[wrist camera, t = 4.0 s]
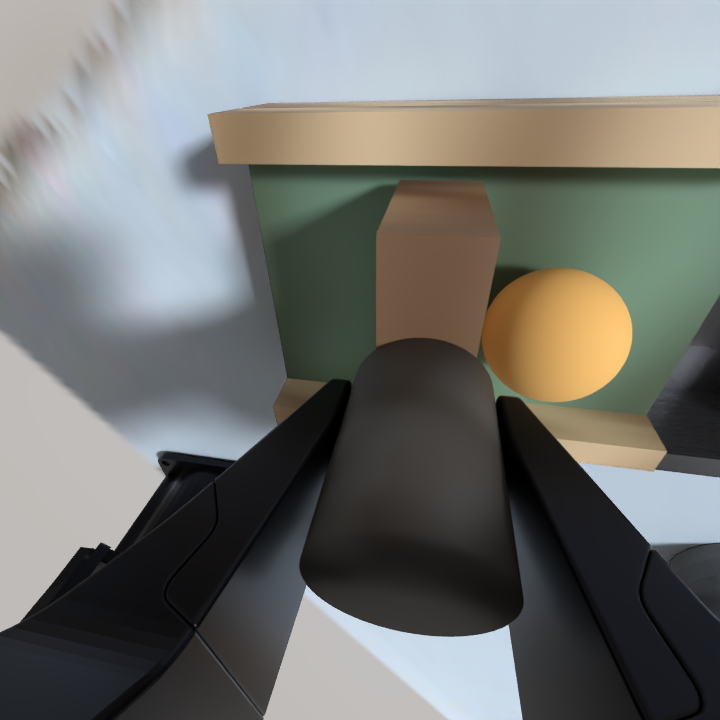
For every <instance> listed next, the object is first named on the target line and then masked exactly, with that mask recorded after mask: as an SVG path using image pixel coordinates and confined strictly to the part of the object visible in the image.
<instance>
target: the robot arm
mask: <svg viewBox="0 0 720 720" xmlns="http://www.w3.org/2000/svg"><path fill="white" fill-rule="evenodd" d="M351 389H352V384H351V382H350V381H349V380H345V379H332V380H330V381H329V382H328V383H327V384H325V385H324V386H323V387H322V388H321V389H320V390H318V391H317V392H316V393H315V394H314V395H313V396H311V397H310V398H309V399H308V400H307V401H306V402H304V403H303V404H302V405H301V406H300V407H299V408H297V409H296V410H295V411H294V412H293V413H292V414H290V415H289V416H288V417H287V418H286V419H285V420H284V421H282V422H281V423H280V424H279V425H278V426H277V427H275V428H274V429H273V430H272V431H271V432H270V433H268V434H267V435H266V436H265V437H264V438H263V439H261V440H260V441H259V442H258V443H257V444H256V445H254V446H253V447H252V448H251V449H250V450H249V451H247V452H246V453H245V454H244V455H243V456H242V457H241V458H239V459H238V460H237V461H236V462H235V463H232V462H225V461H218V460H211V459H204V458H198V457H191V456H184V455H177V454H170V453H163V454H162V455H161V456H160V458H159V459H158V463H159V464H160V466H161V468H162V470H163V472H164V474H165V475H166V477H165V479H164V480H163V482H162V483H161V484H160V486H159V487H158V489H157V490H156V492H155V493H154V495H153V496H152V497H151V499H150V500H149V502H148V503H147V505H146V506H145V507H144V509H143V510H142V512H141V513H140V515H139V516H138V517H137V519H136V520H135V522H134V523H133V525H132V526H131V528H130V529H129V530H128V532H127V533H126V535H125V536H124V538H123V539H122V540H121V542H120V543H119V545H118V546H117V548H116V549H115V551H113V550H111V549H110V548H111V547H109V546H107V545H105V544H103V543H100V544H99V545H98V547H97V548H96V549H94V548H84V547H80V549H79V550H78V551H77V553H76V554H75V555H74V556H73V558H72V559H71V560H70V562H69V563H68V564H67V565H66V567H65V568H64V569H63V571H62V572H61V573H60V574H59V576H58V577H57V578H56V579H55V581H54V582H53V583H52V585H51V586H50V587H49V588H48V589H47V590H46V592H45V593H44V594H43V596H41V598H40V599H39V600H38V601H37V602H36V604H35V605H34V606H33V607H32V609H31V610H30V611H29V612H28V613H27V615H26V616H25V617H24V618H23V619H22V620H21V622H20V623H18V624H16V625H14V626H13V627H11V628H8V629H6V630H4V631H2V632H0V720H263V716H264V715H265V713H266V709H267V706H268V703H269V700H270V697H271V694H272V691H273V688H274V685H275V681H276V678H277V675H278V672H279V669H280V666H281V663H282V659H283V656H284V653H285V650H286V647H287V644H288V641H289V637H290V635H291V632H292V628H293V625H294V622H295V619H296V616H297V613H298V610H299V607H300V603H301V600H302V597H303V594H304V591H305V588H306V585H307V584H306V583H305V581H304V580H303V578H302V576H301V573H300V569H299V562H300V557H301V554H302V551H303V547H304V544H305V541H306V537H307V534H308V531H309V527H310V524H311V521H312V518H313V514H314V511H315V508H316V504H317V501H318V498H319V495H320V491H321V488H322V485H323V481H324V478H325V475H326V471H327V468H328V465H329V462H330V458H331V455H332V452H333V448H334V445H335V442H336V438H337V435H338V432H339V429H340V425H341V422H342V419H343V415H344V412H345V409H346V405H347V402H348V399H349V396H350V392H351ZM496 410H497V417H498V424H499V431H500V438H501V444H502V451H503V458H504V465H505V472H506V479H507V486H508V493H509V500H510V507H511V514H512V521H513V528H514V535H515V542H516V549H517V556H518V563H519V570H520V577H521V584H522V591H523V598H524V605H523V609H522V611H521V613H520V615H519V616H518V617H517V618H516V619H515V620H514V621H513V622H511V623H510V624H509V630H510V636H511V643H512V650H513V657H514V664H515V670H516V677H517V684H518V691H519V698H520V704H521V711H522V718H523V720H720V620H719V619H718V618H717V617H716V616H715V615H714V614H713V613H712V612H711V611H710V610H709V609H708V608H707V607H706V606H705V605H704V604H703V602H702V601H701V600H700V599H699V598H698V597H697V596H696V595H695V594H694V593H693V592H692V591H691V589H690V588H689V587H688V586H687V585H686V584H685V583H684V582H683V581H682V580H681V579H680V577H679V576H678V575H677V574H676V573H675V572H674V571H673V570H672V569H671V567H670V566H669V565H668V564H667V563H666V562H665V561H664V560H663V558H662V557H661V556H660V555H659V554H658V553H657V552H656V551H655V550H651V545H650V544H649V543H648V542H647V541H646V539H645V538H644V537H643V536H642V535H641V534H640V533H639V532H638V530H637V529H636V528H635V527H634V526H633V525H632V524H631V523H630V521H629V520H628V519H627V518H626V517H625V516H624V515H623V514H622V512H621V511H620V510H619V509H618V508H617V507H616V506H615V504H614V503H613V502H612V501H611V500H610V499H609V498H608V497H607V495H606V494H605V493H604V492H603V491H602V490H601V489H600V488H599V486H598V485H597V484H596V483H595V482H594V481H593V480H592V478H591V477H590V476H589V475H588V474H587V473H586V472H585V471H584V469H583V468H582V467H581V466H580V465H579V464H578V463H577V462H576V460H575V459H574V458H573V457H572V456H571V455H570V454H569V452H568V451H567V450H566V449H565V448H564V447H563V446H562V445H561V443H560V442H559V441H558V440H557V439H556V438H555V437H554V436H553V434H552V433H551V432H550V431H549V430H548V429H547V428H546V427H545V425H544V424H543V423H542V422H541V421H540V420H539V419H538V417H537V416H536V415H535V414H534V413H533V412H532V411H531V410H530V408H529V407H528V406H527V405H526V404H525V403H524V402H523V401H522V399H520V398H519V397H514V396H504V395H500V396H499V397H498V398H497V399H496Z"/></svg>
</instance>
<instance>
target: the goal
mask: <svg viewBox="0 0 720 720" xmlns="http://www.w3.org/2000/svg"><path fill="white" fill-rule="evenodd" d="M646 416H647V417H648V419H649V421H650V422H651V424H652V426H653V428H654V429H655V431H656V433H657V435H658V436H659V438H660V440H661V442H662V443H663V445H664V447H665V448H666V450H667V453H666V454H665V456H664V457H663V459H662V460H661V461H660V463H659V464H658V466H657V467H656V468H655V469H656V470H664V471H672V472H680V473H688V474H696V475H704V476H712V477H720V295H719V297H718V299H717V300H716V302H715V303H714V305H713V307H712V308H711V310H710V312H709V313H708V315H707V317H706V318H705V320H704V322H703V323H702V325H701V326H700V328H699V330H698V331H697V333H696V335H695V336H694V338H693V340H692V341H691V343H690V344H689V346H688V348H687V349H686V351H685V353H684V354H683V356H682V358H681V359H680V361H679V363H678V364H677V366H676V367H675V369H674V371H673V372H672V374H671V376H670V377H669V379H668V381H667V382H666V384H665V386H664V387H663V389H662V390H661V392H660V394H659V395H658V397H657V399H656V400H655V402H654V404H653V405H652V407H651V408H650V410H649V412H648V413H647V415H646Z"/></svg>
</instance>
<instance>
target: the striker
mask: <svg viewBox="0 0 720 720" xmlns="http://www.w3.org/2000/svg"><path fill="white" fill-rule="evenodd" d="M500 241H501V237H500V234H499V230H498V227H497V224H496V221H495V218H494V215H493V211H492V208H491V205H490V202H489V199H488V196H487V193H486V189H485V186H484V183H483V181H448V180H400V181H399V183H398V186H397V188H396V190H395V192H394V195H393V197H392V199H391V201H390V204H389V206H388V208H387V210H386V213H385V215H384V217H383V220H382V222H381V224H380V226H379V229H378V231H377V233H376V350H375V351H373V352H372V353H371V354H370V355H368V356H367V357H366V358H365V360H364V361H363V362H362V363H361V365H360V367H359V368H358V371H357V373H356V376H355V379H354V382H353V386H352V389H351V392H350V396H349V399H348V402H347V405H346V409H345V412H344V415H343V419H342V422H341V425H340V429H339V432H338V435H337V438H336V442H335V445H334V448H333V452H332V455H331V458H330V462H329V465H328V468H327V471H326V475H325V478H324V481H323V485H322V488H321V491H320V495H319V498H318V501H317V504H316V508H315V511H314V514H313V518H312V521H311V524H310V527H309V531H308V534H307V537H306V541H305V544H304V547H303V551H302V554H301V557H300V562H299V569H300V573H301V576H302V578H303V580H304V581H305V583H306V584H307V586H308V587H309V588H310V589H311V590H312V591H313V592H314V593H315V594H316V595H317V596H318V597H320V598H321V599H322V600H324V601H325V602H327V603H328V604H330V605H331V606H333V607H335V608H337V609H338V610H340V611H342V612H344V613H346V614H348V615H351V616H353V617H355V618H358V619H360V620H363V621H365V622H368V623H371V624H374V625H378V626H381V627H385V628H388V629H393V630H397V631H401V632H407V633H413V634H420V635H429V636H446V637H454V636H470V635H478V634H484V633H488V632H491V631H495V630H498V629H500V628H503V627H505V626H506V625H508V624H510V623H511V622H513V621H514V620H515V619H516V618H517V617H518V616H519V615H520V613H521V611H522V609H523V605H524V598H523V591H522V584H521V577H520V570H519V563H518V556H517V549H516V542H515V535H514V528H513V521H512V514H511V507H510V500H509V493H508V486H507V479H506V472H505V465H504V458H503V451H502V444H501V438H500V431H499V424H498V417H497V410H496V403H495V396H494V389H493V384H492V380H491V378H490V375H489V373H488V371H487V370H486V368H485V367H484V366H483V364H482V363H481V362H480V361H479V360H478V359H477V354H478V349H479V344H480V339H481V335H482V330H483V325H484V320H485V315H486V310H487V305H488V300H489V295H490V290H491V285H492V280H493V275H494V270H495V265H496V260H497V255H498V250H499V245H500Z"/></svg>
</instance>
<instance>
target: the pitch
mask: <svg viewBox="0 0 720 720" xmlns="http://www.w3.org/2000/svg"><path fill="white" fill-rule="evenodd" d="M208 119H209V123H210V128H211V132H212V137H213V141H214V145H215V150H216V154H217V159H218V163H219V164H249V169H250V175H251V180H252V186H253V191H254V197H255V202H256V208H257V213H258V219H259V224H260V230H261V235H262V240H263V246H264V251H265V257H266V262H267V268H268V273H269V279H270V284H271V290H272V295H273V301H274V306H275V312H276V317H277V323H278V328H279V334H280V339H281V345H282V350H283V356H284V361H285V367H286V372H287V380H286V382H285V384H284V386H283V388H282V390H281V392H280V394H279V396H278V398H277V400H276V401H275V403H274V405H273V407H274V412H275V416H276V421H277V425H279V424H280V423H281V422H282V421H284V420H285V419H286V418H287V417H288V416H289V415H290V414H292V413H293V412H294V411H295V410H296V409H297V408H299V407H300V406H301V405H302V404H303V403H304V402H306V401H307V400H308V399H309V398H310V397H311V396H313V395H314V394H315V393H316V392H317V391H318V390H320V389H321V388H322V387H323V386H324V385H325V384H327V383H328V382H329V381H330V380H332V379H345V380H349V381H350V382H351V384H352V386H353V382H354V379H355V376H356V373H357V371H358V368H359V367H360V365H361V363H362V362H363V361H364V360H365V358H366V357H367V356H368V355H370V354H371V353H372V352H373V351H375V350H376V233H377V231H378V229H379V226H380V224H381V222H382V220H383V217H384V215H385V213H386V210H387V208H388V206H389V204H390V201H391V199H392V197H393V195H394V192H395V190H396V188H397V186H398V183H399V181H400V180H448V181H483V183H484V186H485V189H486V193H487V196H488V199H489V202H490V205H491V208H492V211H493V215H494V218H495V221H496V224H497V227H498V230H499V234H500V237H501V241H500V245H499V250H498V255H497V260H496V265H495V270H494V275H493V280H492V285H491V290H490V295H489V300H488V305H487V310H488V308H489V307H490V305H491V303H492V302H493V300H494V299H495V297H496V296H497V295H498V294H499V293H500V292H501V291H502V290H503V289H504V288H505V287H506V286H507V285H509V284H510V283H511V282H513V281H514V280H516V279H518V278H519V277H521V276H524V275H526V274H528V273H531V272H534V271H537V270H542V269H547V268H572V269H577V270H581V271H585V272H587V273H590V274H593V275H594V276H596V277H598V278H600V279H602V280H603V281H605V282H606V283H607V284H609V285H610V286H611V287H612V288H613V289H614V290H615V291H616V292H617V293H618V294H619V295H620V297H621V298H622V300H623V302H624V303H625V305H626V307H627V309H628V312H629V314H630V318H631V322H632V344H631V348H630V351H629V354H628V357H627V359H626V361H625V363H624V365H623V366H622V368H621V369H620V371H619V372H618V373H617V375H616V376H615V377H614V378H613V379H612V380H611V381H610V382H609V383H607V384H606V385H605V386H604V387H602V388H601V389H599V390H597V391H596V392H594V393H592V394H590V395H588V396H585V397H583V398H579V399H576V400H572V401H565V402H545V401H538V400H534V399H530V398H527V397H525V396H522V395H520V394H518V393H516V392H514V391H513V390H511V389H510V388H508V387H507V386H506V385H504V384H503V383H502V382H501V381H500V380H499V379H498V378H497V376H496V375H495V374H494V373H493V372H492V370H491V368H490V367H489V365H488V363H487V361H486V358H485V356H484V352H483V347H482V335H481V339H480V344H479V349H478V354H477V359H478V360H479V361H480V362H481V363H482V364H483V366H484V367H485V368H486V370H487V371H488V373H489V375H490V378H491V380H492V384H493V389H494V396H495V403H496V399H497V398H498V397H499V396H500V395H504V396H514V397H519V398H520V399H522V401H523V402H524V403H525V404H526V405H527V406H528V407H529V408H530V410H531V411H532V412H533V413H534V414H535V415H536V416H537V417H538V419H539V420H540V421H541V422H542V423H543V424H544V425H545V427H546V428H547V429H548V430H549V431H550V432H551V433H552V434H553V436H554V437H555V438H556V439H557V440H558V441H559V442H560V443H561V445H562V446H563V447H564V448H565V449H566V450H567V451H568V452H569V454H570V455H571V456H572V457H573V458H574V459H575V460H576V462H580V463H588V464H596V465H604V466H612V467H621V468H629V469H637V470H645V471H654V470H655V468H656V467H657V466H658V464H659V463H660V461H661V460H662V459H663V457H664V456H665V454H666V453H667V450H666V448H665V447H664V445H663V443H662V442H661V440H660V438H659V436H658V435H657V433H656V431H655V429H654V428H653V426H652V424H651V422H650V421H649V419H648V417H647V416H646V415H647V413H648V412H649V410H650V408H651V407H652V405H653V404H654V402H655V400H656V399H657V397H658V395H659V394H660V392H661V390H662V389H663V387H664V386H665V384H666V382H667V381H668V379H669V377H670V376H671V374H672V372H673V371H674V369H675V367H676V366H677V364H678V363H679V361H680V359H681V358H682V356H683V354H684V353H685V351H686V349H687V348H688V346H689V344H690V343H691V341H692V340H693V338H694V336H695V335H696V333H697V331H698V330H699V328H700V326H701V325H702V323H703V322H704V320H705V318H706V317H707V315H708V313H709V312H710V310H711V308H712V307H713V305H714V303H715V302H716V300H717V299H718V297H719V295H720V95H695V96H641V97H588V98H534V99H481V100H427V101H374V102H320V103H267V104H262V105H256V106H251V107H245V108H242V109H234V110H228V111H223V112H217V113H212V114H208ZM487 310H486V313H487Z"/></svg>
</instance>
